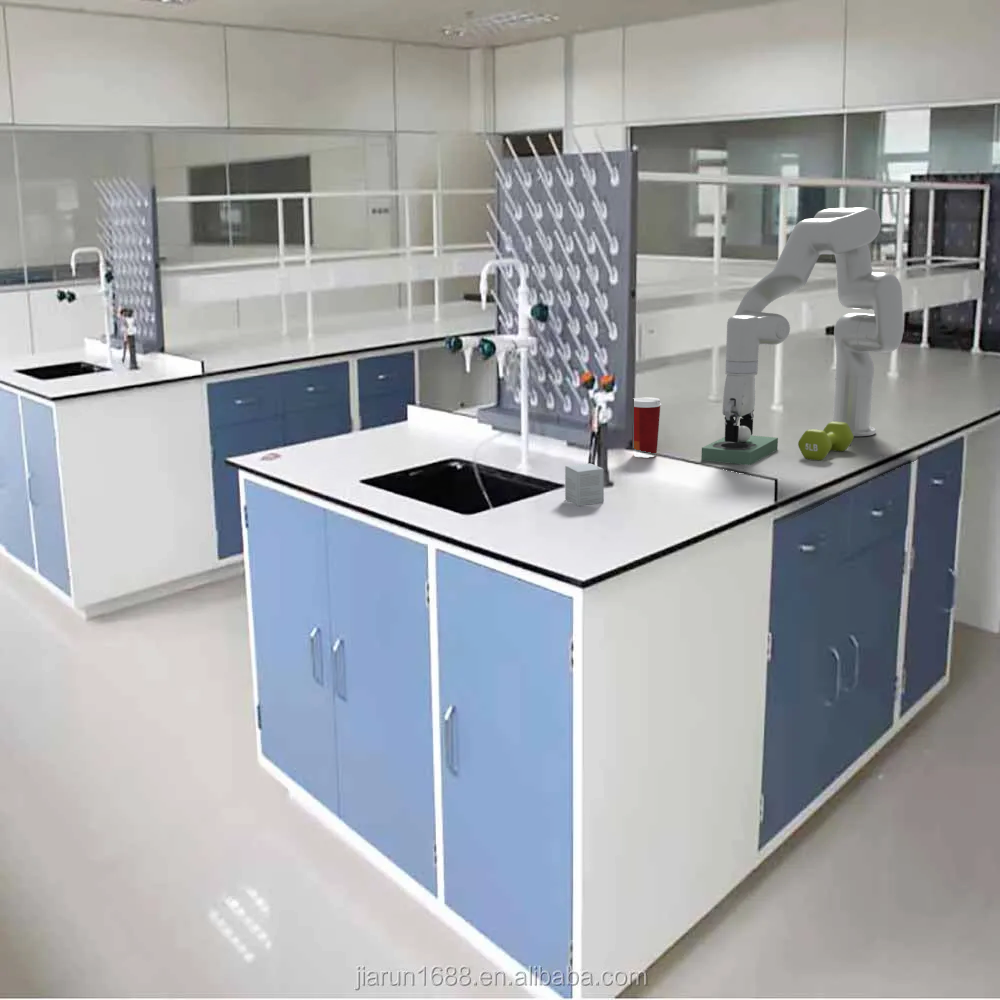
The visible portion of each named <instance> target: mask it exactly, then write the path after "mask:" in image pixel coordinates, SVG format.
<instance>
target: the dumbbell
mask: <svg viewBox="0 0 1000 1000" xmlns="http://www.w3.org/2000/svg"><path fill="white" fill-rule="evenodd" d="M854 439H855V436H853V434H852V431H851V429H850V427H849V425H848V424H847V423H844V422H837V421H833V420H832V421H829V422H828V423H827V424H826V425H825V427H824V429H815V428H814V429H812V428H811V429H807V430H805V431H804V432H803V434H802V435H801V437H800V438H799V440H798V443H797V444H798V445H797V446H798V448H799V450H800V452H801V455H802V457H803V458H805V459H806V460H810V459H811V461H822V460H824V459H825V458H826V457H827V455H828V454H829V453H830V451H832V452H833V451H834V452H845V451H846V450H848V448H849V447H850V445H851V444H852V442H853V440H854Z"/></svg>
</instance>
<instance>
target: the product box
mask: <svg viewBox="0 0 1000 1000" xmlns="http://www.w3.org/2000/svg"><path fill="white" fill-rule="evenodd" d="M564 470H565V471H564V472H565V474H564V479H565V480H564V481H565V485H564V486H565V491H564V492H565V495H564V496H565V500H566V501H567V502H569V503H571V504H572V505H575V506H576V507H581V506H582V507H583V506H588V505H595V504H603V503H604V501H605V500H604V499H605V498H604V496H605V493H604V490H605V487H604V486H605V482H604V481H605V480H604V472H605V469H604V468H603V467H600V466H598V465H596V464H592V463H589V462H588V463H581V464H574V465H565V467H564Z"/></svg>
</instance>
